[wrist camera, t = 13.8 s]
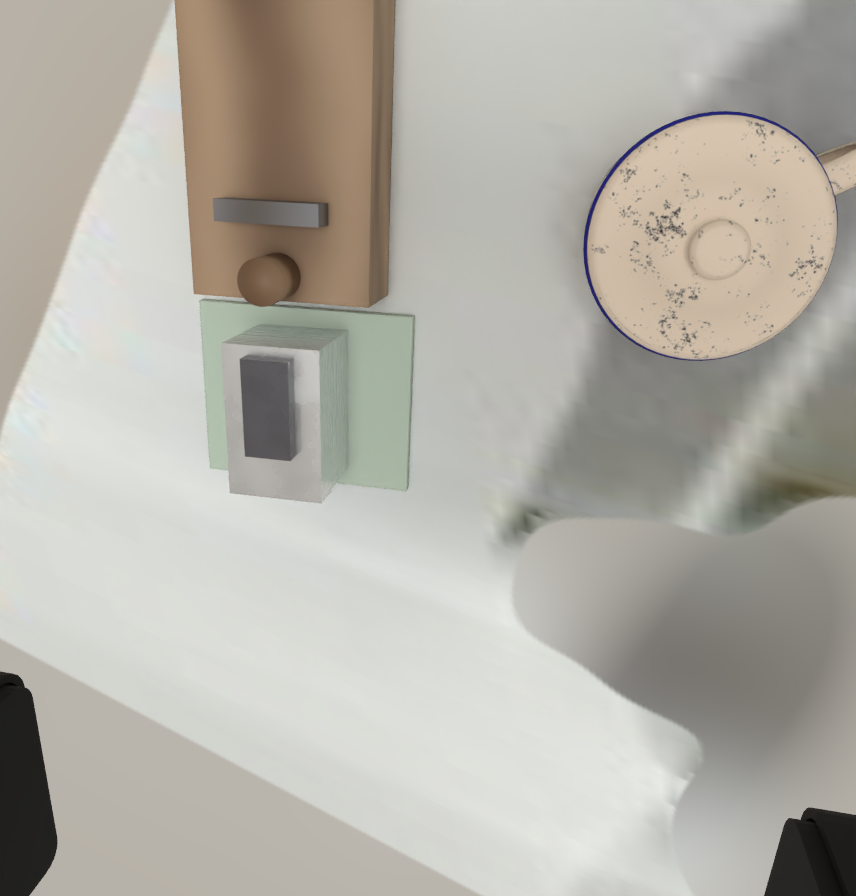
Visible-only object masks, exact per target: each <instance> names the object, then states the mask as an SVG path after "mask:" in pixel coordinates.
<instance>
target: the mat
mask: <svg viewBox="0 0 856 896" xmlns="http://www.w3.org/2000/svg"><path fill="white" fill-rule="evenodd" d="M199 303H200V319H201V335H202V351H203V366H204V382H205V398H206V414H207V430H208V445H209V461H210V468H212V469H220V470H229V469H228V453H227V437H226V422H225V406H224V390H223V374H222V358H221V343H222V342H224V341H226V340H228V339H230V338H232V337H234V336H236V335H238V334H240V333H242V332H244V331H246V330H248V329H250V328H252V327H254V326H256V325H258V324H271V325H285V326H298V327H312V328H325V329H339V330H348V469H347V470H346V472H345V473H344V474H343V476H342V477H341V478H340V480H339V481H338V482H337V483H341V484H350V485H358V486H367V487H375V488H384V489H393V490H401V491H406V490H407V488H408V473H409V447H410V421H411V395H412V369H413V343H414V318H415V316H409V315H397V314H384V313H371V312H359V311H346V310H334V309H321V308H309V307H296V306H284V305H270V306H267V307H258V306H255V305H252V304H251V303H246V302H233V301H221V300H208V299H202V300H199Z"/></svg>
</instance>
